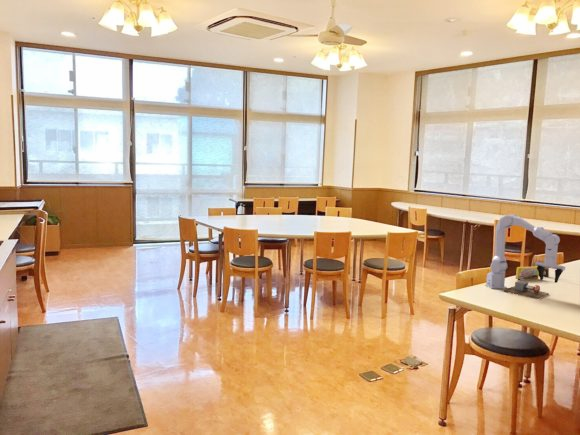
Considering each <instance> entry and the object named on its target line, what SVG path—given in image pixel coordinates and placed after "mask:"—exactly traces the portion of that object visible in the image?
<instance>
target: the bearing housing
mask: <svg viewBox="0 0 580 435" xmlns="http://www.w3.org/2000/svg"><path fill="white" fill-rule="evenodd" d="M524 285H529V281H527V280H516V281H515V283H514V286H515V291H519V292H524V291H527V290H528V289H524Z"/></svg>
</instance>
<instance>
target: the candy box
mask: <svg viewBox="0 0 580 435" xmlns="http://www.w3.org/2000/svg"><path fill="white" fill-rule="evenodd" d="M537 267H538V266H536V267H531V266H518V267H517V266H516V273H515V279H532V280H539V277H540V276H539V272H538V270H537Z"/></svg>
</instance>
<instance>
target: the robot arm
mask: <svg viewBox="0 0 580 435" xmlns="http://www.w3.org/2000/svg"><path fill="white" fill-rule="evenodd" d="M512 226H519V227H522V228H524V229H526V230H527V231H530V232H532V235H533V236H534V237H535V238H537V239H539V240H541V241H542V242H544V244H545V248H544V249H545V250H544V252H545V253H544V260H545V261H544V260H543V263H541V261H540V262H538V261H537V262H536V264H535V263H534V266H538V267H537V270H538V272H539V275H540V276H539V279H540V281H542V280H544V277H543V274H544V269H545V267H547V268H549V269H554V283H555V284H556V283H558V281H559V279H560V277H561V275H562V273H563V272H564V271H566V266H563V265H560V264H559V265H558V264H557V261H558V260H557V259H558V251H559V250H558V247H559V243H560V241H561V238H560V236H559V235H558V234H556V233H553V232H552V231H548V230H546V229H545V227H543V226H537V227H536V226H535V225H534V224H532V223H531V222H528V220H525V219H524V218H522V217H521V216H519V215H517V214H514V213H511V214H504V215H503V216H501V217H500V218H499V220H498V222H497V224H496V225H495V236H494V238H495V240H494V256H493V257H492V259H491V263H490V267H489V268H490V270H491V272H488V273H487V274H486V284H485V286H486V285H487V287H488V286H489V287H488V288H490V287H491V289H507V288H508V287H507V286H505V280H506V270H507V269H508V262H507V258H506V256H505V252H506V248H505V247H506V230H507V229H509V228H510V227H512Z"/></svg>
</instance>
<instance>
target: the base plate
mask: <svg viewBox="0 0 580 435" xmlns="http://www.w3.org/2000/svg"><path fill="white" fill-rule="evenodd" d="M503 292H504V293H505V292H506V293H508V292H509V293H508V294H513V293H514V295H517V294H518V296H523V297H527V298H532V299H535V300H540V299H541V298H544V297H547V296H549V292H545V291H541V290H540V291H539V293H534V290H529V289H528V290H527V291H524V292H519V291H515V285H514V286H511V287H507V288H504V289H503Z"/></svg>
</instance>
